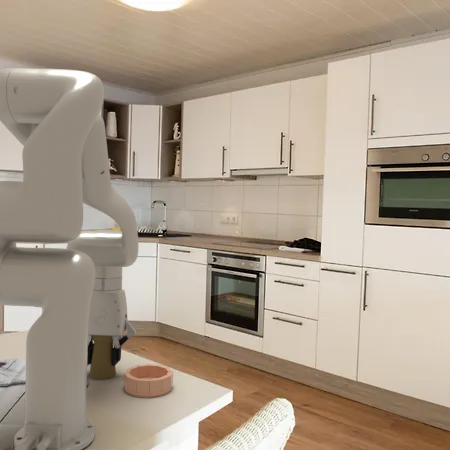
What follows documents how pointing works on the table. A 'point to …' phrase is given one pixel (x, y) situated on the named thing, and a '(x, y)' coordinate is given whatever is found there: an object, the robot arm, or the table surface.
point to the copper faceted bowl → (148, 380)
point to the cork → (102, 358)
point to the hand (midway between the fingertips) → (103, 362)
